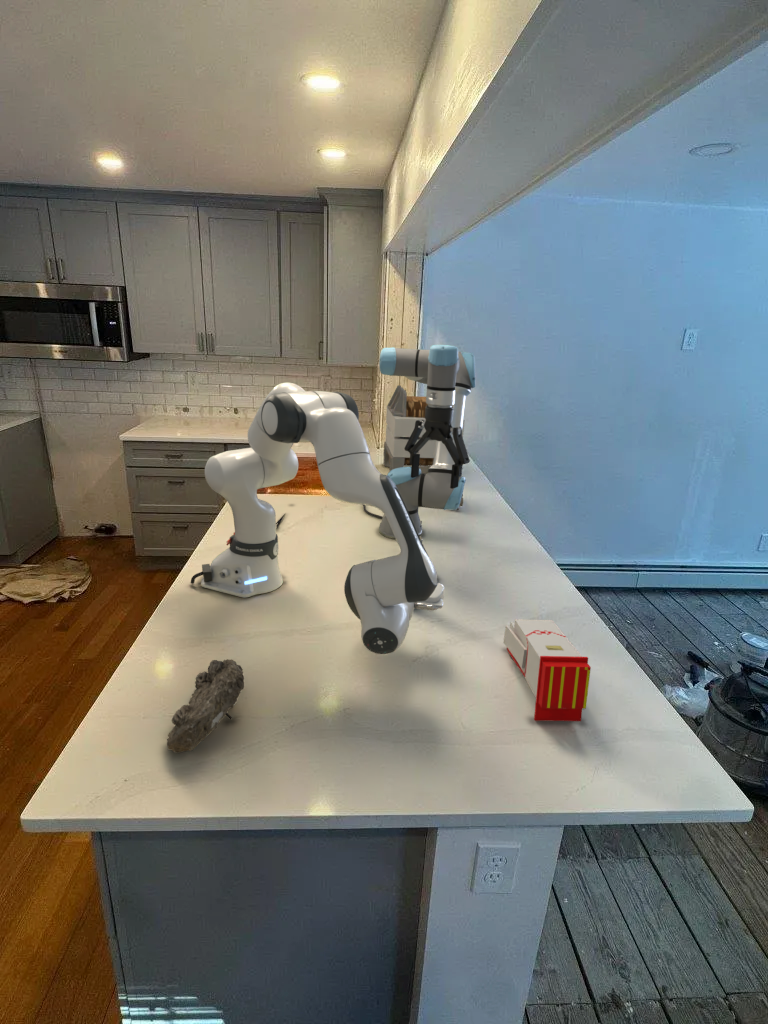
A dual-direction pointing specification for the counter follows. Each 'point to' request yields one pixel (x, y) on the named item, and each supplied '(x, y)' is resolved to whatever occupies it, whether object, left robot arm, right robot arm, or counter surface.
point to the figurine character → (461, 502)
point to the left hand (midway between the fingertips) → (404, 575)
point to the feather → (279, 521)
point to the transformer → (405, 430)
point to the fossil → (206, 705)
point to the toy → (549, 668)
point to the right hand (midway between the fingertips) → (433, 482)
